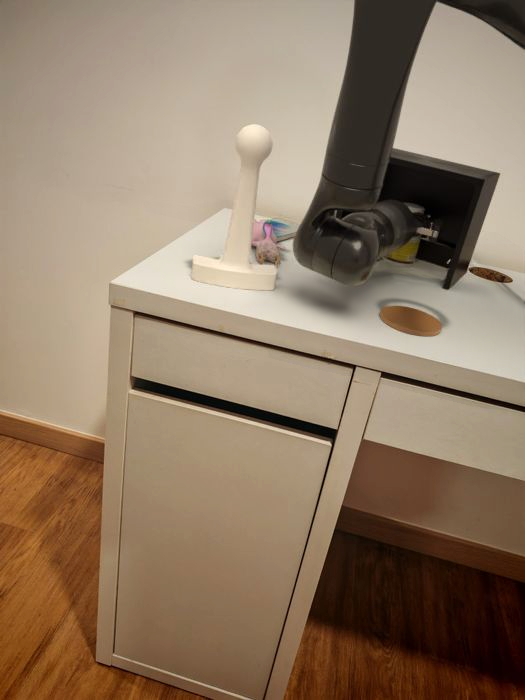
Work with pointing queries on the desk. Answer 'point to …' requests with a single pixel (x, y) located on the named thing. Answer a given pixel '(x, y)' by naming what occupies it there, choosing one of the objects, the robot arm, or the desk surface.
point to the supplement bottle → (406, 246)
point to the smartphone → (283, 228)
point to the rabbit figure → (265, 242)
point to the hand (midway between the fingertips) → (414, 214)
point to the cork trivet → (410, 320)
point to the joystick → (241, 223)
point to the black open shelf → (441, 205)
